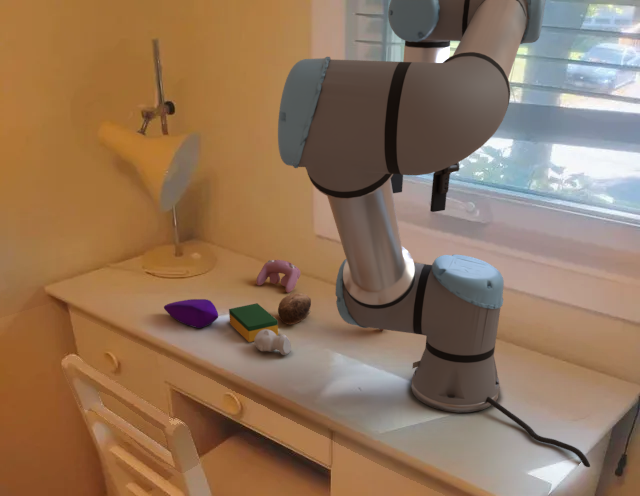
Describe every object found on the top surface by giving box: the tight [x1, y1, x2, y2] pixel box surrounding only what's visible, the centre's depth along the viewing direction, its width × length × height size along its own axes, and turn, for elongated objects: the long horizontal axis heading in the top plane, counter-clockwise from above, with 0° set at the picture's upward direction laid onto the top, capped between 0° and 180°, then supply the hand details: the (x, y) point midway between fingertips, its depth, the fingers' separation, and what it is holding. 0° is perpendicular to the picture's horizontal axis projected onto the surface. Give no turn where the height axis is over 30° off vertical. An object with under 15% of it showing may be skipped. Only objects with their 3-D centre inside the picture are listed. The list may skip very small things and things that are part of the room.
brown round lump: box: [277, 293, 312, 325], centre depth 150 cm, size 8×8×6 cm
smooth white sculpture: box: [254, 329, 292, 356], centre depth 138 cm, size 4×8×5 cm
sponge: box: [228, 302, 279, 343], centre depth 146 cm, size 10×6×3 cm, turn 29°
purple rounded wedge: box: [163, 298, 219, 329], centre depth 149 cm, size 5×5×15 cm
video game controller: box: [255, 259, 301, 294], centre depth 166 cm, size 10×5×7 cm, turn 58°
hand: (415, 201), depth 132 cm, fingers open, 13 cm apart
